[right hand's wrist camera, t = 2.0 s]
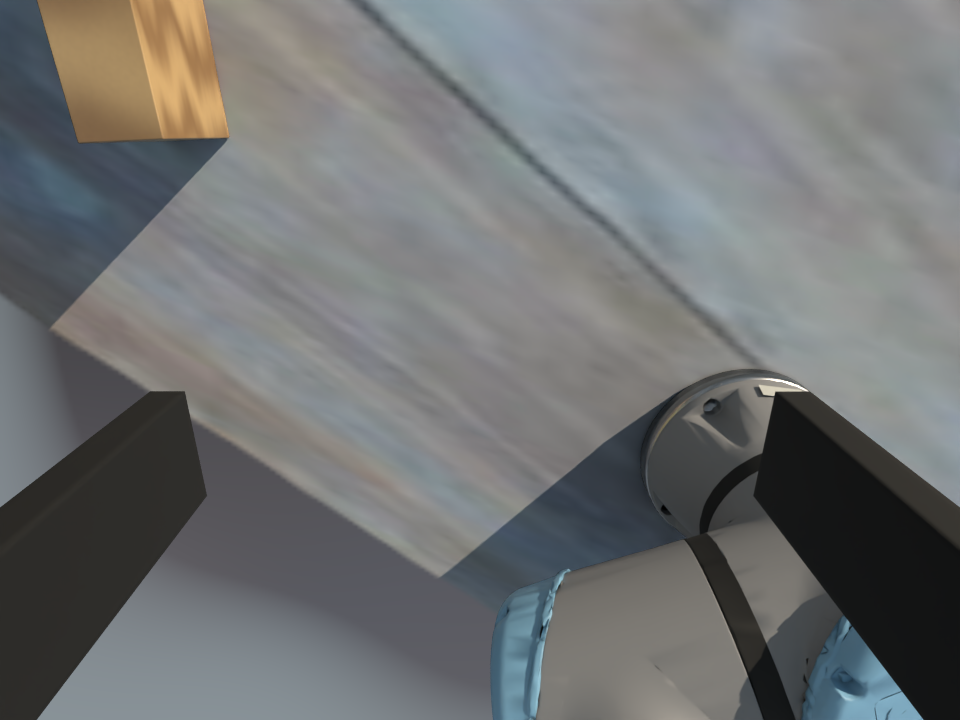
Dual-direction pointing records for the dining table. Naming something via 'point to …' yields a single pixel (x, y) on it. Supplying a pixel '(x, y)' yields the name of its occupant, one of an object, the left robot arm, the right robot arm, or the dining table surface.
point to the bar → (136, 69)
